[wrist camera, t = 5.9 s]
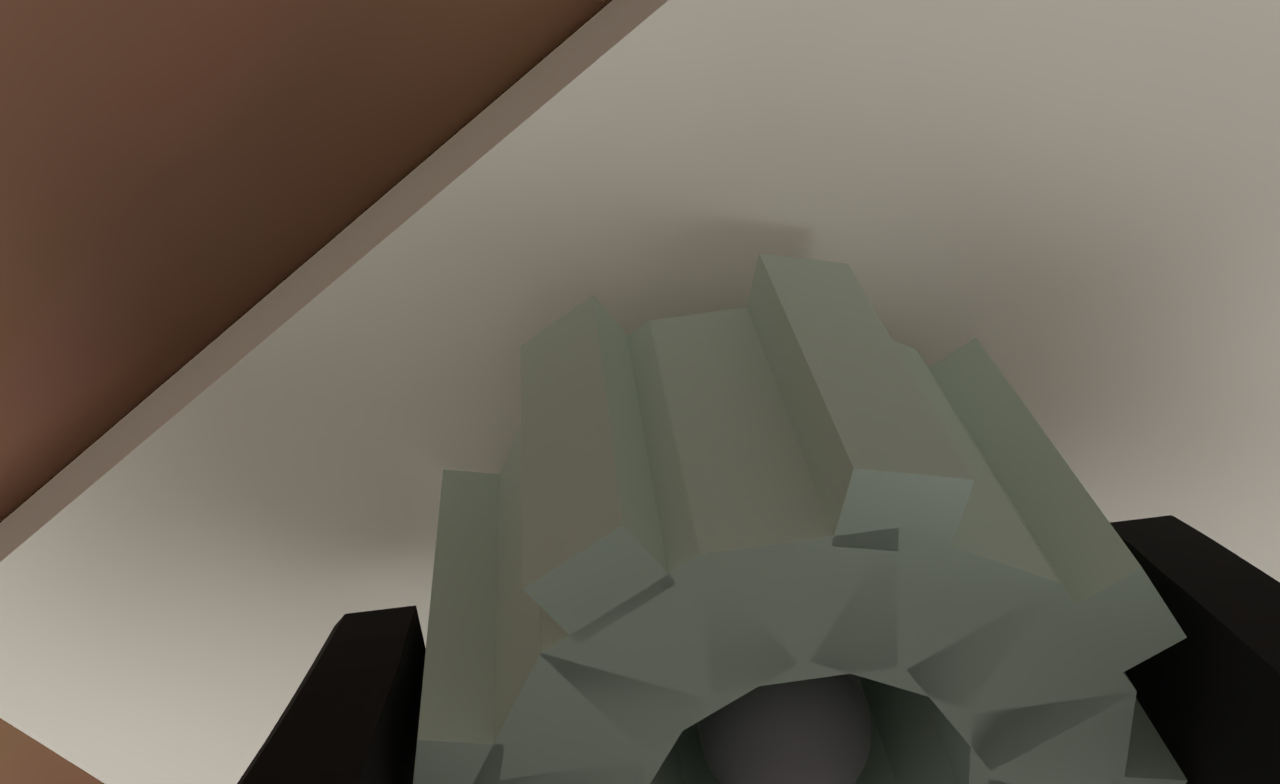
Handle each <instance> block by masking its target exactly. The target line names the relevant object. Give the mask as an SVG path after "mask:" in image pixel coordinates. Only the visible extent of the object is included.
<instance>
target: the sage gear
mask: <svg viewBox="0 0 1280 784" xmlns="http://www.w3.org/2000/svg"><path fill="white" fill-rule="evenodd" d="M1185 638H1187V637H1186V635H1185V633H1184V632H1183V630H1182V629H1181V627H1180V626H1179V624H1178V623H1177V621H1176V619H1175V618H1174V616H1173V615H1172V613H1171V612H1170V610H1169V609H1168V607H1167V605H1166V604H1165V602H1164V601H1163V599H1162V598H1161V596H1160V595H1159V593H1158V591H1157V590H1156V588H1155V587H1154V585H1153V584H1152V582H1151V581H1150V579H1149V578H1148V576H1147V574H1146V573H1145V571H1144V570H1143V568H1142V567H1141V565H1140V564H1139V563H1138V561H1137V560H1136V558H1135V557H1134V556H1133V554H1132V553H1131V551H1130V550H1129V549H1128V547H1127V546H1126V545H1125V543H1124V542H1123V540H1122V539H1121V538H1120V536H1119V535H1118V533H1117V532H1116V531H1115V529H1114V528H1113V527H1112V525H1111V524H1110V522H1109V521H1108V520H1107V518H1106V517H1105V516H1104V514H1103V513H1102V511H1101V510H1100V509H1099V507H1098V506H1097V504H1096V503H1095V502H1094V500H1093V499H1092V498H1091V496H1090V495H1089V493H1088V492H1087V491H1086V489H1085V488H1084V486H1083V485H1082V484H1081V482H1080V481H1079V480H1078V478H1077V477H1076V475H1075V474H1074V473H1073V471H1072V470H1071V468H1070V467H1069V466H1068V464H1067V463H1066V462H1065V460H1064V459H1063V457H1062V456H1061V455H1060V453H1059V452H1058V450H1057V449H1056V448H1055V446H1054V445H1053V444H1052V442H1051V441H1050V439H1049V438H1048V437H1047V435H1046V434H1045V432H1044V431H1043V430H1042V428H1041V427H1040V426H1039V424H1038V423H1037V421H1036V420H1035V419H1034V417H1033V416H1032V415H1031V413H1030V412H1029V410H1028V409H1027V408H1026V406H1025V405H1024V403H1023V402H1022V401H1021V399H1020V398H1019V397H1018V395H1017V394H1016V392H1015V391H1014V390H1013V388H1012V387H1011V385H1010V384H1009V383H1008V381H1007V380H1006V379H1005V377H1004V376H1003V374H1002V373H1001V372H1000V370H999V369H998V367H997V366H996V365H995V363H994V362H993V361H992V359H991V358H990V356H989V355H988V354H987V352H986V351H985V349H984V348H983V347H982V345H981V344H980V343H979V341H978V340H977V338H974V339H973V340H971V341H970V342H968V343H966V344H965V345H963V346H962V347H960V348H958V349H957V350H955V351H954V352H952V353H951V354H949V355H947V356H946V357H944V358H943V359H941V360H940V361H938V362H936V363H935V364H933V365H932V366H930V367H928V366H927V364H926V363H925V361H924V360H923V359H922V357H921V356H920V354H919V352H918V351H917V349H914V348H912V347H909V346H907V345H904V344H902V343H899V342H896V341H894V340H892V338H891V336H890V335H889V333H888V331H887V330H886V328H885V326H884V325H883V323H882V321H881V319H880V318H879V316H878V314H877V313H876V311H875V309H874V308H873V306H872V304H871V302H870V301H869V299H868V297H867V296H866V294H865V292H864V291H863V289H862V287H861V286H860V284H859V282H858V280H857V279H856V277H855V275H854V274H853V272H852V270H851V269H850V267H849V265H848V264H845V263H837V262H828V261H820V260H812V259H803V258H795V257H786V256H778V255H770V254H761V253H759V256H758V261H757V265H756V269H755V274H754V278H753V283H752V287H751V292H750V296H749V300H748V305H747V308H739V309H731V310H724V311H716V312H708V313H700V314H693V315H685V316H677V317H669V318H662V319H654V320H648V321H647V322H646V323H644V324H643V325H641V326H640V327H638V328H637V329H636V330H634V331H633V332H631V333H630V334H628V335H626V334H625V332H624V331H623V330H622V329H621V328H620V326H619V325H618V324H617V323H616V322H615V320H614V319H613V318H612V317H611V316H610V314H609V313H608V312H607V311H606V310H605V308H604V307H603V306H602V305H601V304H600V302H599V301H598V300H597V299H596V298H595V297H594V295H593V296H591V297H590V298H588V299H587V300H585V301H584V302H583V303H581V304H580V305H578V306H577V307H575V308H574V309H573V310H571V311H570V312H568V313H567V314H565V315H564V316H563V317H561V318H560V319H558V320H557V321H555V322H554V323H553V324H551V325H550V326H548V327H547V328H545V329H544V330H543V331H541V332H540V333H538V334H537V335H535V336H534V337H533V338H531V339H530V340H528V341H527V342H525V343H524V344H523V345H521V429H520V431H519V433H518V435H517V437H516V439H515V442H514V444H513V446H512V448H511V450H510V452H509V455H508V457H507V459H506V461H505V463H504V465H503V468H502V470H501V472H500V474H491V473H479V472H468V471H456V470H445V469H443V477H442V487H441V497H440V507H439V517H438V527H437V537H436V547H435V557H434V568H433V578H432V589H431V599H430V610H429V620H428V630H427V641H426V651H425V662H424V672H423V682H422V693H421V703H420V714H419V724H418V735H417V745H416V755H415V766H414V776H413V784H719V782H718V781H717V780H716V778H715V777H714V775H713V774H712V772H711V770H710V768H709V766H708V764H707V762H706V759H705V757H704V754H703V750H702V746H701V742H700V737H699V731H698V725H697V722H699V721H700V720H702V719H704V718H706V717H707V716H709V715H711V714H712V713H714V712H716V711H717V710H719V709H721V708H723V707H724V706H726V705H728V704H729V703H731V702H733V701H734V700H736V699H738V698H740V697H741V696H743V695H745V694H746V693H748V692H750V691H752V690H753V689H755V688H757V687H758V686H765V685H772V684H779V683H786V682H794V681H801V680H808V679H815V678H823V677H830V676H837V675H844V674H853V675H857V676H858V678H859V681H860V684H861V687H862V689H863V692H864V695H865V698H866V701H867V704H868V708H869V712H870V718H871V728H872V734H871V745H870V751H869V755H868V758H867V761H866V764H865V766H864V769H863V770H862V772H861V774H860V776H859V778H858V780H857V781H856V782H855V784H1186V783H1187V781H1188V780H1187V779H1186V777H1185V776H1184V774H1183V772H1182V771H1181V769H1180V767H1179V766H1178V764H1177V763H1176V761H1175V759H1174V758H1173V756H1172V755H1171V753H1170V751H1169V750H1168V748H1167V747H1166V745H1165V743H1164V742H1163V740H1162V739H1161V737H1160V735H1159V734H1158V732H1157V731H1156V729H1155V727H1154V726H1153V724H1152V722H1151V721H1150V719H1149V718H1148V716H1147V714H1146V713H1145V711H1144V710H1143V708H1142V706H1141V705H1140V703H1139V702H1138V700H1137V698H1136V693H1137V691H1136V689H1135V688H1134V686H1133V684H1132V683H1131V681H1130V680H1129V678H1128V677H1127V675H1126V673H1125V671H1127V670H1129V669H1130V668H1132V667H1134V666H1136V665H1138V664H1140V663H1141V662H1143V661H1145V660H1147V659H1149V658H1151V657H1152V656H1154V655H1156V654H1158V653H1160V652H1162V651H1163V650H1165V649H1167V648H1169V647H1171V646H1173V645H1174V644H1176V643H1178V642H1180V641H1182V640H1184V639H1185Z"/></svg>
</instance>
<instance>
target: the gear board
mask: <svg viewBox="0 0 1280 784" xmlns="http://www.w3.org/2000/svg"><path fill="white" fill-rule="evenodd" d="M759 253H761V254H770V255H778V256H786V257H795V258H803V259H812V260H820V261H828V262H837V263H845V264H848V265H849V267H850V269H851V270H852V272H853V274H854V275H855V277H856V279H857V280H858V282H859V284H860V286H861V287H862V289H863V291H864V292H865V294H866V296H867V297H868V299H869V301H870V302H871V304H872V306H873V308H874V309H875V311H876V313H877V314H878V316H879V318H880V319H881V321H882V323H883V325H884V326H885V328H886V330H887V331H888V333H889V335H890V336H891V338H892V340H894V341H896V342H899V343H902V344H904V345H907V346H909V347H912V348H914V349H917V351H918V352H919V354H920V356H921V357H922V359H923V360H924V361H925V363H926V364H927V366H928V367H930V366H932V365H933V364H935V363H936V362H938V361H940V360H941V359H943V358H944V357H946V356H947V355H949V354H951V353H952V352H954V351H955V350H957V349H958V348H960V347H962V346H963V345H965V344H966V343H968V342H970V341H971V340H973V339H974V338H977V340H978V341H979V343H980V344H981V345H982V347H983V348H984V349H985V351H986V352H987V354H988V355H989V356H990V358H991V359H992V361H993V362H994V363H995V365H996V366H997V367H998V369H999V370H1000V372H1001V373H1002V374H1003V376H1004V377H1005V379H1006V380H1007V381H1008V383H1009V384H1010V385H1011V387H1012V388H1013V390H1014V391H1015V392H1016V394H1017V395H1018V397H1019V398H1020V399H1021V401H1022V402H1023V403H1024V405H1025V406H1026V408H1027V409H1028V410H1029V412H1030V413H1031V415H1032V416H1033V417H1034V419H1035V420H1036V421H1037V423H1038V424H1039V426H1040V427H1041V428H1042V430H1043V431H1044V432H1045V434H1046V435H1047V437H1048V438H1049V439H1050V441H1051V442H1052V444H1053V445H1054V446H1055V448H1056V449H1057V450H1058V452H1059V453H1060V455H1061V456H1062V457H1063V459H1064V460H1065V462H1066V463H1067V464H1068V466H1069V467H1070V468H1071V470H1072V471H1073V473H1074V474H1075V475H1076V477H1077V478H1078V480H1079V481H1080V482H1081V484H1082V485H1083V486H1084V488H1085V489H1086V491H1087V492H1088V493H1089V495H1090V496H1091V498H1092V499H1093V500H1094V502H1095V503H1096V504H1097V506H1098V507H1099V509H1100V510H1101V511H1102V513H1103V514H1104V516H1105V517H1106V518H1107V520H1108V521H1109V522H1118V521H1127V520H1135V519H1143V518H1152V517H1160V516H1168V515H1172V516H1174V517H1176V518H1177V519H1179V520H1181V521H1183V522H1184V523H1186V524H1188V525H1189V526H1191V527H1193V528H1195V529H1196V530H1198V531H1200V532H1201V533H1203V534H1204V535H1206V536H1208V537H1209V538H1211V539H1213V540H1214V541H1216V542H1217V543H1219V544H1220V545H1222V546H1224V547H1225V548H1227V549H1228V550H1230V551H1232V552H1233V553H1235V554H1236V555H1238V556H1239V557H1241V558H1242V559H1244V560H1246V561H1247V562H1249V563H1250V564H1252V565H1253V566H1255V567H1257V568H1258V569H1260V570H1261V571H1263V572H1264V573H1266V574H1267V575H1269V576H1271V577H1272V578H1274V579H1275V580H1277V581H1278V582H1280V0H612V1H611V2H610V3H609V4H607V5H606V6H605V7H604V8H603V9H602V10H600V11H599V12H598V13H597V14H596V15H595V16H593V17H592V18H591V19H590V20H589V21H588V22H586V23H585V24H584V25H583V26H582V27H581V28H579V29H578V30H577V31H576V32H575V33H574V34H572V35H571V36H570V37H569V38H568V39H566V40H565V41H564V42H563V43H562V44H561V45H559V46H558V47H557V48H556V49H555V50H554V51H552V52H551V53H550V54H549V55H548V56H547V57H545V58H544V59H543V60H542V61H541V62H540V63H538V64H537V65H536V66H535V67H534V68H533V69H531V70H530V71H529V72H528V73H527V74H525V75H524V76H523V77H522V78H521V79H520V80H518V81H517V82H516V83H515V84H514V85H513V86H511V87H510V88H509V89H508V90H507V91H506V92H504V93H503V94H502V95H501V96H500V97H499V98H497V99H496V100H495V101H494V102H493V103H492V104H490V105H489V106H488V107H487V108H486V109H484V110H483V111H482V112H481V113H480V114H479V115H477V116H476V117H475V118H474V119H473V120H472V121H470V122H469V123H468V124H467V125H466V126H465V127H463V128H462V129H461V130H460V131H459V132H458V133H456V134H455V135H454V136H453V137H452V138H451V139H449V140H448V141H447V142H446V143H445V144H443V145H442V146H441V147H440V148H439V149H438V150H436V151H435V152H434V153H433V154H432V155H431V156H429V157H428V158H427V159H426V160H425V161H424V162H422V163H421V164H420V165H419V166H418V167H417V168H415V169H414V170H413V171H412V172H411V173H410V174H408V175H407V176H406V177H405V178H404V179H402V180H401V181H400V182H399V183H398V184H397V185H395V186H394V187H393V188H392V189H391V190H390V191H388V192H387V193H386V194H385V195H384V196H383V197H381V198H380V199H379V200H378V201H377V202H376V203H374V204H373V205H372V206H371V207H370V208H369V209H367V210H366V211H365V212H364V213H363V214H362V215H360V216H359V217H358V218H357V219H356V220H354V221H353V222H352V223H351V224H350V225H349V226H347V227H346V228H345V229H344V230H343V231H342V232H340V233H339V234H338V235H337V236H336V237H335V238H333V239H332V240H331V241H330V242H329V243H328V244H326V245H325V246H324V247H323V248H322V249H321V250H319V251H318V252H317V253H316V254H315V255H313V256H312V257H311V258H310V259H309V260H308V261H306V262H305V263H304V264H303V265H302V266H301V267H299V268H298V269H297V270H296V271H295V272H294V273H292V274H291V275H290V276H289V277H288V278H287V279H285V280H284V281H283V282H282V283H281V284H280V285H278V286H277V287H276V288H275V289H274V290H272V291H271V292H270V293H269V294H268V295H267V296H265V297H264V298H263V299H262V300H261V301H260V302H258V303H257V304H256V305H255V306H254V307H253V308H251V309H250V310H249V311H248V312H247V313H246V314H244V315H243V316H242V317H241V318H240V319H239V320H237V321H236V322H235V323H234V324H233V325H231V326H230V327H229V328H228V329H227V330H226V331H224V332H223V333H222V334H221V335H220V336H219V337H217V338H216V339H215V340H214V341H213V342H212V343H210V344H209V345H208V346H207V347H206V348H205V349H203V350H202V351H201V352H200V353H199V354H198V355H196V356H195V357H194V358H193V359H192V360H190V361H189V362H188V363H187V364H186V365H185V366H183V367H182V368H181V369H180V370H179V371H178V372H176V373H175V374H174V375H173V376H172V377H171V378H169V379H168V380H167V381H166V382H165V383H164V384H162V385H161V386H160V387H159V388H158V389H157V390H155V391H154V392H153V393H152V394H151V395H150V396H148V397H147V398H146V399H145V400H144V401H142V402H141V403H140V404H139V405H138V406H137V407H135V408H134V409H133V410H132V411H131V412H130V413H128V414H127V415H126V416H125V417H124V418H123V419H121V420H120V421H119V422H118V423H117V424H116V425H114V426H113V427H112V428H111V429H110V430H109V431H107V432H106V433H105V434H104V435H103V436H101V437H100V438H99V439H98V440H97V441H96V442H94V443H93V444H92V445H91V446H90V447H89V448H87V449H86V450H85V451H84V452H83V453H82V454H80V455H79V456H78V457H77V458H76V459H75V460H73V461H72V462H71V463H70V464H69V465H68V466H66V467H65V468H64V469H63V470H62V471H60V472H59V473H58V474H57V475H56V476H55V477H53V478H52V479H51V480H50V481H49V482H48V483H46V484H45V485H44V486H43V487H42V488H41V489H39V490H38V491H37V492H36V493H35V494H34V495H32V496H31V497H30V498H29V499H28V500H27V501H25V502H24V503H23V504H22V505H21V506H19V507H18V508H17V509H16V510H15V511H14V512H12V513H11V514H10V515H9V516H8V517H7V518H5V519H4V520H3V521H2V522H1V523H0V718H1V719H3V720H5V721H6V722H8V723H9V724H11V725H13V726H14V727H16V728H17V729H19V730H21V731H22V732H24V733H25V734H27V735H28V736H30V737H32V738H33V739H35V740H36V741H38V742H40V743H41V744H43V745H44V746H46V747H48V748H49V749H51V750H52V751H54V752H55V753H57V754H59V755H60V756H62V757H63V758H65V759H67V760H68V761H70V762H71V763H73V764H75V765H76V766H78V767H79V768H81V769H82V770H84V771H86V772H87V773H89V774H90V775H92V776H94V777H95V778H97V779H98V780H100V781H102V782H103V783H105V784H237V783H238V781H239V780H240V778H241V777H242V775H243V774H244V772H245V771H246V769H247V768H248V766H249V765H250V763H251V762H252V760H253V759H254V757H255V756H256V754H257V753H258V751H259V750H260V748H261V747H262V745H263V744H264V742H265V741H266V739H267V738H268V736H269V734H270V733H271V731H272V730H273V728H274V726H275V725H276V723H277V722H278V720H279V718H280V717H281V715H282V713H283V712H284V710H285V709H286V707H287V705H288V704H289V702H290V701H291V699H292V697H293V696H294V694H295V692H296V691H297V689H298V687H299V686H300V684H301V682H302V681H303V679H304V677H305V676H306V674H307V672H308V671H309V669H310V667H311V666H312V664H313V662H314V660H315V659H316V657H317V655H318V654H319V652H320V650H321V648H322V647H323V645H324V643H325V642H326V640H327V638H328V636H329V635H330V633H331V631H332V629H333V628H334V626H335V625H336V624H337V622H338V621H339V620H340V619H341V618H342V617H343V616H344V615H345V614H348V613H356V612H364V611H373V610H381V609H390V608H398V607H406V606H415V605H416V608H417V612H418V617H419V621H420V626H421V630H422V634H423V639H424V643H425V648H426V641H427V630H428V620H429V610H430V599H431V589H432V578H433V568H434V557H435V547H436V537H437V527H438V517H439V507H440V497H441V487H442V477H443V469H445V470H456V471H468V472H479V473H491V474H500V472H501V470H502V468H503V465H504V463H505V461H506V459H507V457H508V455H509V452H510V450H511V448H512V446H513V444H514V442H515V439H516V437H517V435H518V433H519V431H520V429H521V345H523V344H524V343H525V342H527V341H528V340H530V339H531V338H533V337H534V336H535V335H537V334H538V333H540V332H541V331H543V330H544V329H545V328H547V327H548V326H550V325H551V324H553V323H554V322H555V321H557V320H558V319H560V318H561V317H563V316H564V315H565V314H567V313H568V312H570V311H571V310H573V309H574V308H575V307H577V306H578V305H580V304H581V303H583V302H584V301H585V300H587V299H588V298H590V297H591V296H593V295H594V297H595V298H596V299H597V300H598V301H599V302H600V304H601V305H602V306H603V307H604V308H605V310H606V311H607V312H608V313H609V314H610V316H611V317H612V318H613V319H614V320H615V322H616V323H617V324H618V325H619V326H620V328H621V329H622V330H623V331H624V332H625V334H626V335H628V334H630V333H631V332H633V331H634V330H636V329H637V328H638V327H640V326H641V325H643V324H644V323H646V322H647V321H648V320H654V319H662V318H669V317H677V316H685V315H693V314H700V313H708V312H716V311H724V310H731V309H739V308H747V305H748V300H749V296H750V292H751V287H752V283H753V278H754V274H755V269H756V265H757V261H758V256H759ZM697 725H698V731H699V737H700V742H701V746H702V750H703V754H704V757H705V759H706V762H707V764H708V766H709V768H710V770H711V772H712V774H713V775H714V777H715V778H716V780H717V781H718V782H719V784H855V782H856V781H857V780H858V778H859V776H860V774H861V772H862V770H863V769H864V766H865V764H866V761H867V758H868V755H869V751H870V745H871V734H872V728H871V718H870V712H869V708H868V704H867V701H866V698H865V695H864V692H863V689H862V687H861V684H860V681H859V678H858V676H857V675H853V674H844V675H837V676H830V677H823V678H815V679H808V680H801V681H794V682H786V683H779V684H772V685H765V686H758V687H757V688H755V689H753V690H752V691H750V692H748V693H746V694H745V695H743V696H741V697H740V698H738V699H736V700H734V701H733V702H731V703H729V704H728V705H726V706H724V707H723V708H721V709H719V710H717V711H716V712H714V713H712V714H711V715H709V716H707V717H706V718H704V719H702V720H700V721H699V722H697Z"/></svg>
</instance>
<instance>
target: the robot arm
mask: <svg viewBox="0 0 1280 784" xmlns="http://www.w3.org/2000/svg"><path fill="white" fill-rule="evenodd" d="M1110 524H1111V525H1112V527H1113V528H1114V529H1115V531H1116V532H1117V533H1118V535H1119V536H1120V538H1121V539H1122V540H1123V542H1124V543H1125V545H1126V546H1127V547H1128V549H1129V550H1130V551H1131V553H1132V554H1133V556H1134V557H1135V558H1136V560H1137V561H1138V563H1139V564H1140V565H1141V567H1142V568H1143V570H1144V571H1145V573H1146V574H1147V576H1148V578H1149V579H1150V581H1151V582H1152V584H1153V585H1154V587H1155V588H1156V590H1157V591H1158V593H1159V595H1160V596H1161V598H1162V599H1163V601H1164V602H1165V604H1166V605H1167V607H1168V609H1169V610H1170V612H1171V613H1172V615H1173V616H1174V618H1175V619H1176V621H1177V623H1178V624H1179V626H1180V627H1181V629H1182V630H1183V632H1184V633H1185V635H1186V637H1187V638H1185V639H1184V640H1182V641H1180V642H1178V643H1176V644H1174V645H1173V646H1171V647H1169V648H1167V649H1165V650H1163V651H1162V652H1160V653H1158V654H1156V655H1154V656H1152V657H1151V658H1149V659H1147V660H1145V661H1143V662H1141V663H1140V664H1138V665H1136V666H1134V667H1132V668H1130V669H1129V670H1127V671H1125V673H1126V675H1127V677H1128V678H1129V680H1130V681H1131V683H1132V684H1133V686H1134V688H1135V689H1136V691H1137V693H1136V698H1137V700H1138V702H1139V703H1140V705H1141V706H1142V708H1143V710H1144V711H1145V713H1146V714H1147V716H1148V718H1149V719H1150V721H1151V722H1152V724H1153V726H1154V727H1155V729H1156V731H1157V732H1158V734H1159V735H1160V737H1161V739H1162V740H1163V742H1164V743H1165V745H1166V747H1167V748H1168V750H1169V751H1170V753H1171V755H1172V756H1173V758H1174V759H1175V761H1176V763H1177V764H1178V766H1179V767H1180V769H1181V771H1182V772H1183V774H1184V776H1185V777H1186V779H1187V780H1188V781H1187V783H1186V784H1280V582H1278V581H1277V580H1275V579H1274V578H1272V577H1271V576H1269V575H1267V574H1266V573H1264V572H1263V571H1261V570H1260V569H1258V568H1257V567H1255V566H1253V565H1252V564H1250V563H1249V562H1247V561H1246V560H1244V559H1242V558H1241V557H1239V556H1238V555H1236V554H1235V553H1233V552H1232V551H1230V550H1228V549H1227V548H1225V547H1224V546H1222V545H1220V544H1219V543H1217V542H1216V541H1214V540H1213V539H1211V538H1209V537H1208V536H1206V535H1204V534H1203V533H1201V532H1200V531H1198V530H1196V529H1195V528H1193V527H1191V526H1189V525H1188V524H1186V523H1184V522H1183V521H1181V520H1179V519H1177V518H1176V517H1174V516H1172V515H1168V516H1160V517H1152V518H1143V519H1135V520H1127V521H1118V522H1110ZM425 651H426V648H425V643H424V639H423V634H422V630H421V626H420V621H419V617H418V612H417V608H416V605H415V606H406V607H398V608H390V609H381V610H373V611H364V612H356V613H348V614H345V615H344V616H343V617H342V618H341V619H340V620H339V621H338V622H337V624H336V625H335V626H334V628H333V629H332V631H331V633H330V635H329V636H328V638H327V640H326V642H325V643H324V645H323V647H322V648H321V650H320V652H319V654H318V655H317V657H316V659H315V660H314V662H313V664H312V666H311V667H310V669H309V671H308V672H307V674H306V676H305V677H304V679H303V681H302V682H301V684H300V686H299V687H298V689H297V691H296V692H295V694H294V696H293V697H292V699H291V701H290V702H289V704H288V705H287V707H286V709H285V710H284V712H283V713H282V715H281V717H280V718H279V720H278V722H277V723H276V725H275V726H274V728H273V730H272V731H271V733H270V734H269V736H268V738H267V739H266V741H265V742H264V744H263V745H262V747H261V748H260V750H259V751H258V753H257V754H256V756H255V757H254V759H253V760H252V762H251V763H250V765H249V766H248V768H247V769H246V771H245V772H244V774H243V775H242V777H241V778H240V780H239V781H238V783H237V784H413V776H414V766H415V755H416V745H417V735H418V724H419V714H420V703H421V693H422V682H423V672H424V662H425Z"/></svg>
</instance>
